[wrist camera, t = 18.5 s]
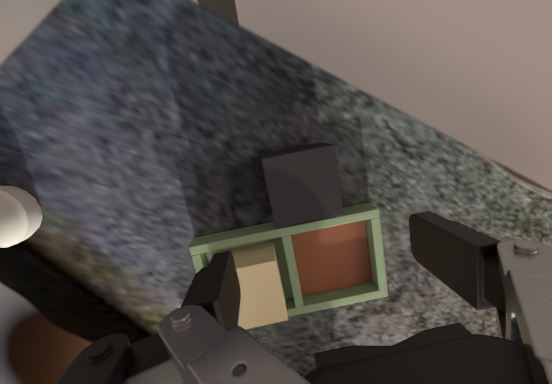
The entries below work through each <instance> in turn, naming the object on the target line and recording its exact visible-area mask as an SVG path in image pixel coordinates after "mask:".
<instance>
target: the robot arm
mask: <svg viewBox="0 0 552 384" xmlns="http://www.w3.org/2000/svg"><path fill="white" fill-rule="evenodd" d="M409 228H410V242H411V251H412V254H413V256H414V258H415V259H416V261H417V262H418V263H420V264H421V265H422V266H423V267H425V268H426V269H427V270H428V271H430V272H431V273H432V274H433V275H434V276H436V277H437V278H438V279H439V280H441V281H442V282H443V283H444V284H446V285H447V286H448V287H449V288H451V289H452V290H453V291H454V292H456V293H457V294H458V295H459V296H461V297H462V298H463V299H464V300H466V301H467V302H468V303H469V304H470V305H472V306H473V307H474V308H475V309H477V310H482V309H487V308H492V307H496V319H497V325H498V330H499V336H500V338H499V337H494V336H488V335H478V334H471V333H470V332H469V331H468V330H467V329H466V328H465V327H464V326H463V325H462V324H461V323H456V324H451V325H446V326H442V327H437V328H432V329H427V330H424V331H422V332H420V333H418V334H416V335H414V336H412V337H410V338H407V339H405V340H403V341H401V342H399V343H397V344H395V345H392V346H347V347H342V348H337V349H333V350H328V351H323V352H318V353H314V355H315V360H316V366H317V367H315V368H313V369H311V370H309V371H308V372H306V373H305V374H303V375H302V376H301V375H300V374H298V373H297V372H296V371H295V370H294V369H292V368H291V367H290V366H289V365H287V364H286V363H285V362H284V361H283V360H281V359H280V358H279V357H278V356H276V355H275V354H274V353H273V352H272V351H270V350H269V349H268V348H267V347H265V346H264V345H263V344H262V343H261V342H259V341H258V340H257V339H256V338H254V337H253V336H252V335H251V334H250V333H248V332H247V331H246V330H245V329H243V328H242V327H240V326H238V319H239V310H240V300H241V290H240V283H239V279H238V275H237V271H236V267H235V262H234V258H233V255H232V252H231V251H225V252H220V253H215V254H213V256H212V259H211V262H210V265H209V266H206V267H203V268H202V269H201V270H199V271H198V272H197V273H196V274H195V276H194V279H193V281H192V284H191V285H190V288H189V290H188V292H187V294H186V297H185V299H184V301H183V303H182V306H181V307H180V308H178V309H176V310H174V311H172V312H171V313H169V314H168V315H167V316H166V317H165V318H164V319H163V320H162V321H161V322H160V324H159V326H158V333H157V334H155V335H153V336H150V337H148V338H146V339H143V340H141V341H138V342H136V343H134V344H131V345H130V343H129V340H128V337H127V336H126V335H124V334H112V335H109V336H106V337H103V338H101V339H99V340H97V341H96V342H94V343H92V344H91V345H89V346H88V347H86V348H85V349H84V350H83V351H82V352H80V353H79V354H78V356H77V357H76V358H75V359H74V360H73V362H72V363H71V364H70V366H69V367H68V368H67V370H66V371H65V372H64V374H63V375H62V376H61V378H60V379H59V380H58V382H57V383H56V384H552V247H550V246H548V245H546V244H543V243H539V242H535V241H529V240H506V241H502V242H501V241H499V240H497V239H494V238H492V237H490V236H488V235H485V234H483V233H481V232H477V231H476V230H474V229H472V228H468V227H467V226H465V225H463V224H461V223H459V222H455V221H450V220H448V219H446V218H443V217H441V216H439V215H437V214H435V213H432V212H430V211H427V212H422V213H417V214H412V215H411V216H410V218H409Z"/></svg>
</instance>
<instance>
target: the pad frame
mask: <svg viewBox="0 0 552 384" xmlns="http://www.w3.org/2000/svg"><path fill="white" fill-rule="evenodd" d="M269 241H273V243H274V247H275V252H276V257H277V262H278V267H279V271H280V276H281V281H282V286H283V290H284V296H285V302H286V308H287V315H288V317H291V316H296V315H300V314H305V313H310V312H314V311H319V310H324V309H329V308H333V307H338V306H343V305H348V304H352V303H357V302H362V301H366V300H371V299H376V298H381V297H385V296H388V293H387V283H386V274H385V264H384V255H383V245H382V235H381V226H380V217H379V209H378V208H376V207H375V206H373V205H372V204H370V203H369V202H368V203H363V204H358V205H353V206H348V207H343V214H341V215H336V216H331V217H326V218H321V219H316V220H311V221H306V222H301V223H296V224H291V225H287V226H282V227H277V228H275V226H274V222H269V223H264V224H259V225H254V226H249V227H244V228H239V229H234V230H230V231H225V232H220V233H215V234H210V235H205V236H200V237H195V238H194V239H193V241H192V243H191V245H190V246H189V250H190V253H191V257H192V260H193V264H194V267H195V271H196V273H197V272H198V271H199V270H201V269H202V268H203V267H206V266H209V265H210V262H211V259H212V256H213V254H214V253H216V252H220V251H225V250H230V249H235V248H240V247H245V246H249V245H254V244H259V243H264V242H269Z"/></svg>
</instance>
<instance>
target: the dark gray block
mask: <svg viewBox="0 0 552 384" xmlns="http://www.w3.org/2000/svg"><path fill="white" fill-rule="evenodd" d="M261 162H262V166H263V171H264V176H265V181H266V186H267V191H268V196H269V201H270V206H271V211H272V216H273V221H274V226H275V228H277V227H282V226H287V225H291V224H296V223H301V222H306V221H311V220H316V219H321V218H326V217H331V216H336V215H341V214H343V205H342V198H341V191H340V183H339V176H338V169H337V161H336V154H335V147H334V144H328V143H316V144H311V145H306V146H301V147H296V148H291V149H285V150H280V151H275V152H270V153H265V154H261Z"/></svg>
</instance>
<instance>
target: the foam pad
mask: <svg viewBox="0 0 552 384" xmlns="http://www.w3.org/2000/svg"><path fill="white" fill-rule="evenodd" d="M225 251H231V252H232V255H233V258H234V262H235V267H236V271H237V275H238V279H239V283H240V290H241V300H240V310H239V319H238V326H240V327H242V328H243V329H245V330H246V329H250V328H255V327H260V326H264V325H269V324H274V323H278V322H283V321H288V315H287V308H286V302H285V296H284V290H283V286H282V281H281V276H280V271H279V267H278V262H277V257H276V252H275V247H274V243H273V241H269V242H264V243H259V244H254V245H249V246H245V247H240V248H235V249H230V250H225ZM225 251H220V252H225ZM220 252H216V253H220ZM214 254H215V253H214Z"/></svg>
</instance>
